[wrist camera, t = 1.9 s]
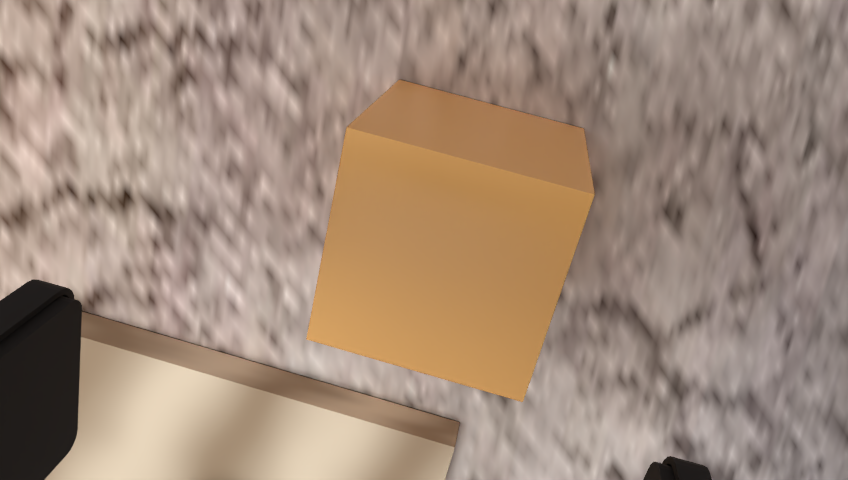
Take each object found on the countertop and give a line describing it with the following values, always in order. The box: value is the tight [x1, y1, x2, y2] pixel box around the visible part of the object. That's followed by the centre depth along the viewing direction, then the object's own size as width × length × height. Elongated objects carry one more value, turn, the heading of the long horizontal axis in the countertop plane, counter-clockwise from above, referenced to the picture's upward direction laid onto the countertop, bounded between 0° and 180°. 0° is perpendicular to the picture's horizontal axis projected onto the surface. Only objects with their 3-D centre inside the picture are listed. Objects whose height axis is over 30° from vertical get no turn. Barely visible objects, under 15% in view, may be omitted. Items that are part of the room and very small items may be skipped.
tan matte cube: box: [306, 80, 595, 402], centre depth 21 cm, size 6×6×6 cm
